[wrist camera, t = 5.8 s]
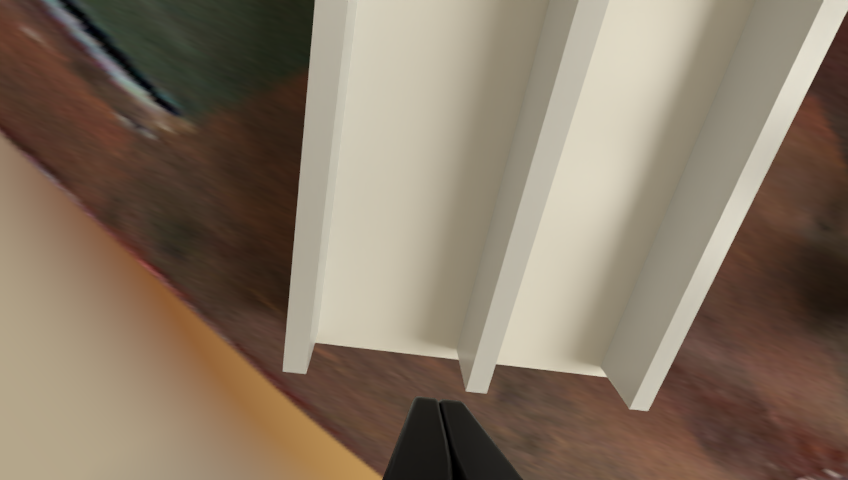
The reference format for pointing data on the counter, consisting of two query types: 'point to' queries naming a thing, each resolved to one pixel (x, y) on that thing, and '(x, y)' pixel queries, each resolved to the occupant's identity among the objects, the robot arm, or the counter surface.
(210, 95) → the counter surface
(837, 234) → the counter surface
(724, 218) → the tiered shelf rack
